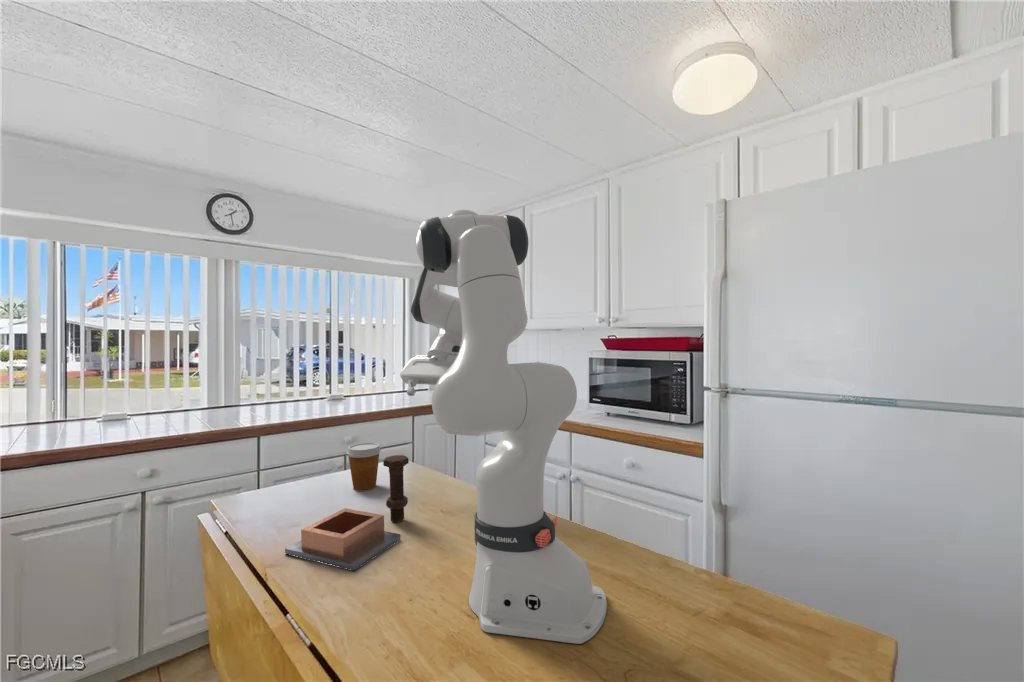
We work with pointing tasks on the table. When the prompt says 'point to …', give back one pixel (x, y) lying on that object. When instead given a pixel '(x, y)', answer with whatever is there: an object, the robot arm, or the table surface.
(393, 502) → the bolt
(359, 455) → the disposable coffee cup
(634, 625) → the table surface
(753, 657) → the table surface
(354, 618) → the table surface
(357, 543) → the socket
